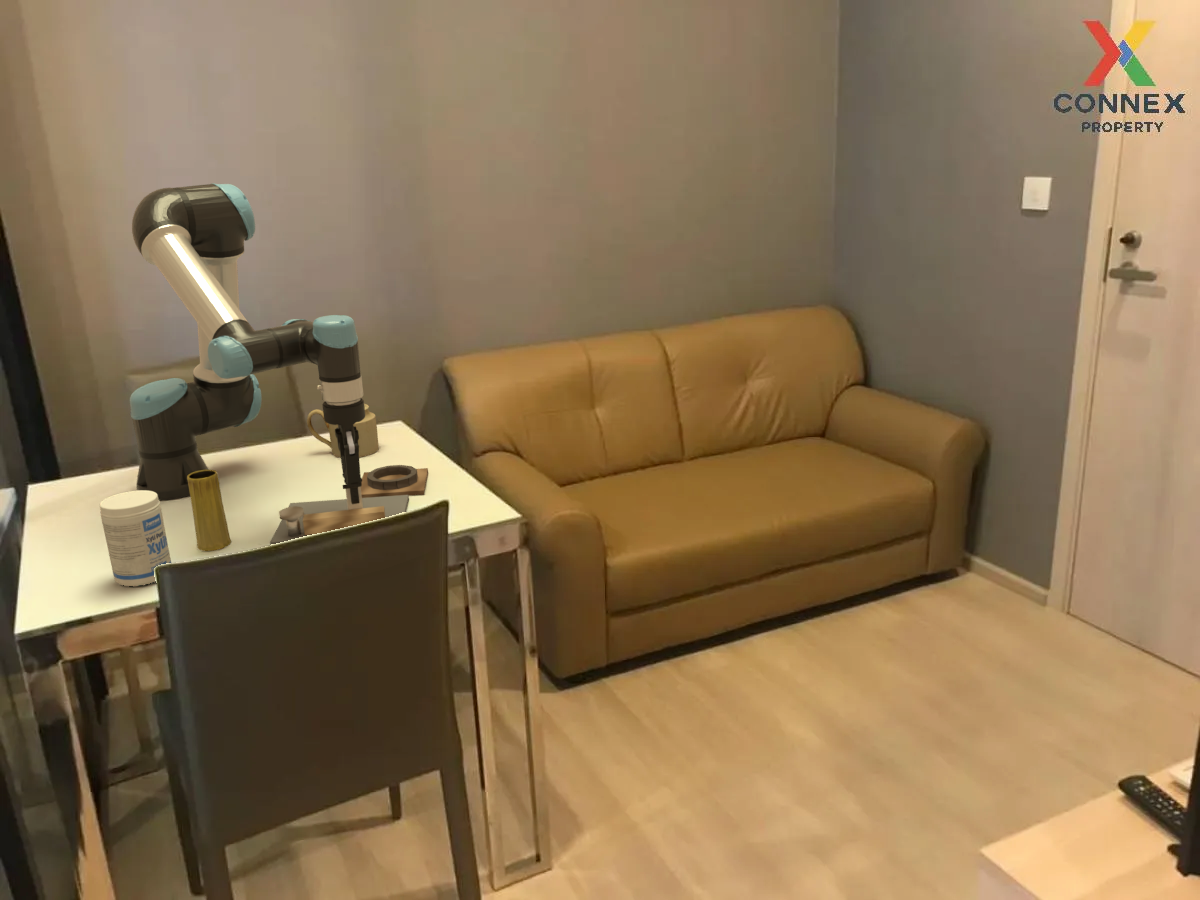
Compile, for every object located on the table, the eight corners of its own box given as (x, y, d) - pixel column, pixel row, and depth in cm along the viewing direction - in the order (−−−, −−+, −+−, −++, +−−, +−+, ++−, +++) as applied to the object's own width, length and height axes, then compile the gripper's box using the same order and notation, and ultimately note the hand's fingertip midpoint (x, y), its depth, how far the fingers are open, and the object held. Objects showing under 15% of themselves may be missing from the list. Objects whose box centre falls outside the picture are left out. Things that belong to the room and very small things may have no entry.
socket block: (356, 499, 209) (354, 486, 209) (364, 476, 223) (363, 464, 222) (424, 494, 211) (422, 482, 210) (428, 472, 224) (427, 460, 223)
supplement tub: (168, 584, 174) (152, 505, 169) (109, 592, 172) (92, 512, 167) (177, 561, 183) (162, 486, 178) (121, 568, 181) (105, 492, 176)
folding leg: (281, 539, 188) (277, 516, 186) (283, 530, 192) (280, 507, 191) (385, 527, 191) (383, 505, 190) (385, 519, 195) (383, 497, 194)
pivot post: (287, 537, 189) (284, 519, 188) (289, 532, 191) (286, 514, 190) (300, 536, 189) (297, 518, 188) (302, 531, 192) (299, 513, 190)
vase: (237, 538, 192) (225, 468, 187) (222, 552, 186) (210, 480, 182) (206, 538, 193) (194, 468, 188) (191, 551, 187) (178, 480, 182)
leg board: (270, 547, 188) (269, 542, 187) (291, 507, 206) (290, 503, 206) (400, 537, 190) (399, 532, 189) (408, 499, 208) (408, 494, 208)
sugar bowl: (326, 465, 231) (318, 402, 226) (309, 454, 239) (301, 393, 235) (386, 451, 239) (379, 390, 234) (368, 440, 247) (361, 381, 243)
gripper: (318, 393, 191) (332, 508, 199) (326, 411, 180) (340, 532, 187) (358, 388, 193) (370, 502, 201) (368, 406, 182) (381, 525, 190)
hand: (356, 516), depth 194 cm, fingers closed
